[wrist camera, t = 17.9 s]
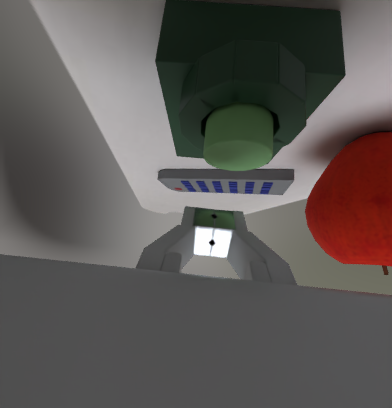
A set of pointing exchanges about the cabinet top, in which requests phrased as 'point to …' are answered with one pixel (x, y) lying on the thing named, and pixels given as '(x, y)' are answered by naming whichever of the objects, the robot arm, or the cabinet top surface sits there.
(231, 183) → the remote control
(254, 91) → the button base
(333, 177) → the apple
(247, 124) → the light green button cap
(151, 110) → the cabinet top surface
